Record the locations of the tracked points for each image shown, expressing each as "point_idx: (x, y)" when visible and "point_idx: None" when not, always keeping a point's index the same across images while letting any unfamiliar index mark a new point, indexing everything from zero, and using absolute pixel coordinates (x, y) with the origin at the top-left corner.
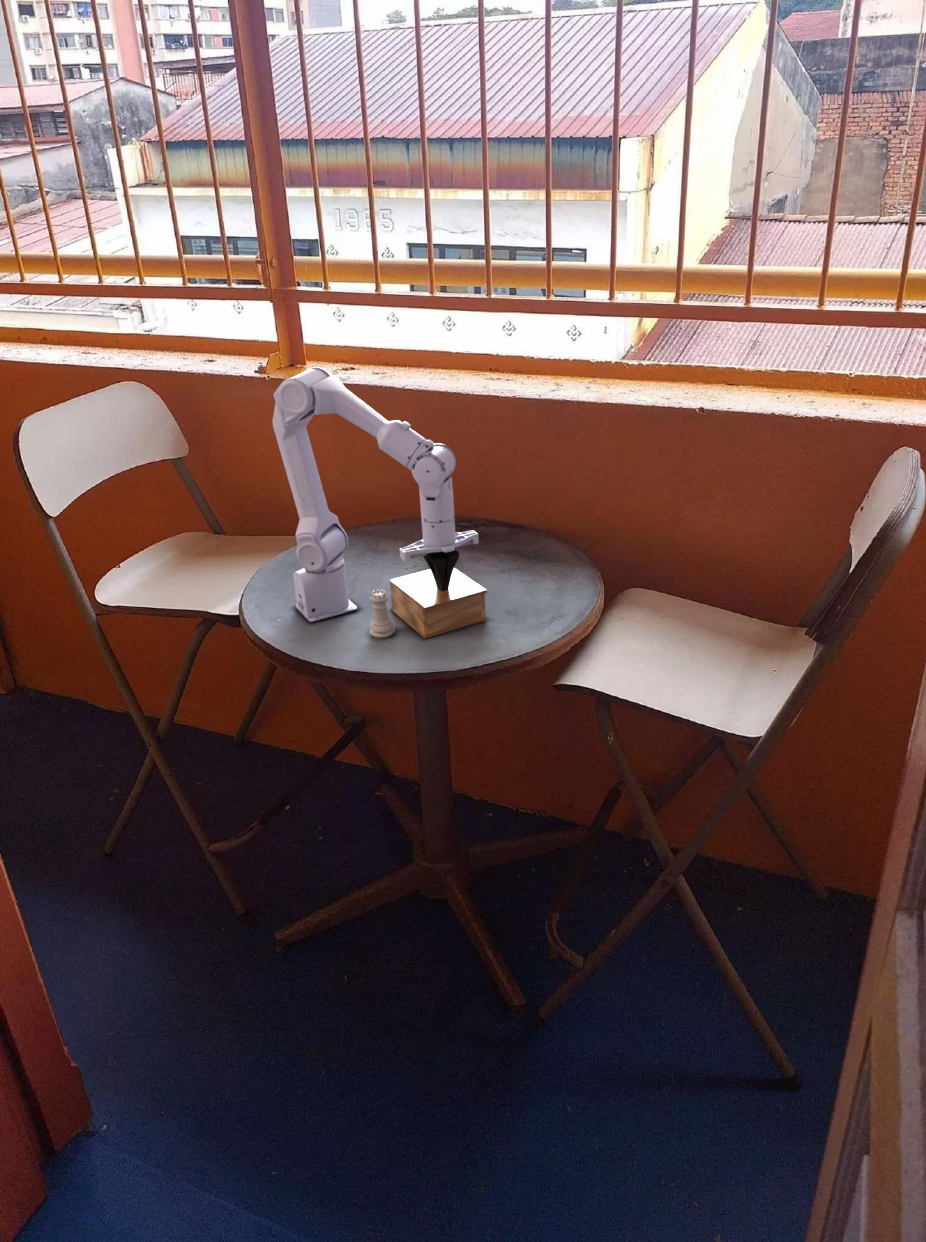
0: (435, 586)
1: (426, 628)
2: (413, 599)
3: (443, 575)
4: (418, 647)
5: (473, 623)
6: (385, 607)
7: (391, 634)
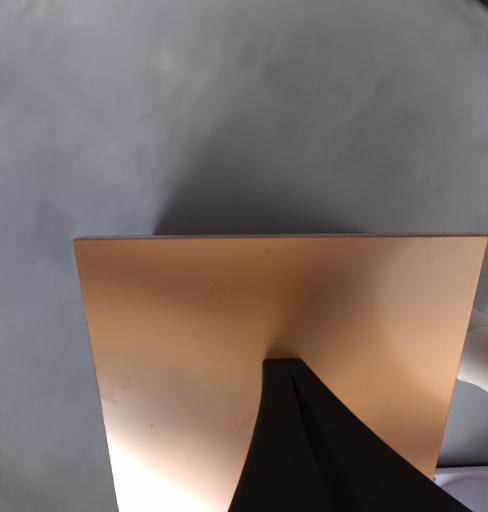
0: None
1: None
2: (457, 357)
3: (340, 437)
4: (415, 196)
5: None
6: None
7: None
